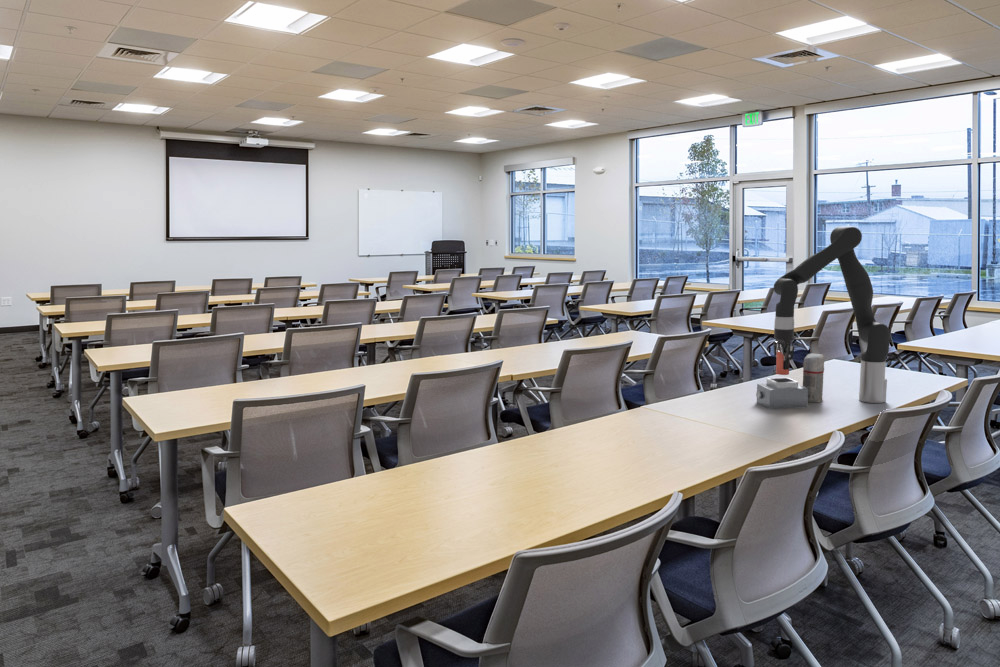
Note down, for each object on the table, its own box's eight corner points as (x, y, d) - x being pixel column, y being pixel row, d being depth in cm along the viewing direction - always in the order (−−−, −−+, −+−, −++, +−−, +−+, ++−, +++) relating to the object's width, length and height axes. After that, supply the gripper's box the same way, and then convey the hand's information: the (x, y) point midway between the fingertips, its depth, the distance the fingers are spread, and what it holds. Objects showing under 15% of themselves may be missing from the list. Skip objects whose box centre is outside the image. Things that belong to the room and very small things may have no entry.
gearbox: (793, 400, 303) (793, 376, 301) (807, 407, 291) (808, 382, 290) (753, 402, 302) (754, 378, 300) (766, 409, 290) (767, 384, 288)
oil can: (785, 372, 297) (786, 346, 296) (791, 374, 292) (792, 348, 291) (773, 372, 297) (774, 346, 295) (779, 375, 292) (780, 348, 290)
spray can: (826, 402, 298) (828, 355, 295) (806, 403, 298) (808, 356, 296) (817, 397, 307) (819, 352, 304) (798, 398, 307) (800, 352, 304)
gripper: (801, 329, 285) (800, 371, 287) (784, 324, 299) (783, 364, 301) (783, 330, 284) (782, 371, 287) (767, 325, 298) (766, 365, 301)
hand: (782, 367), depth 294 cm, fingers closed on oil can, 5 cm apart
